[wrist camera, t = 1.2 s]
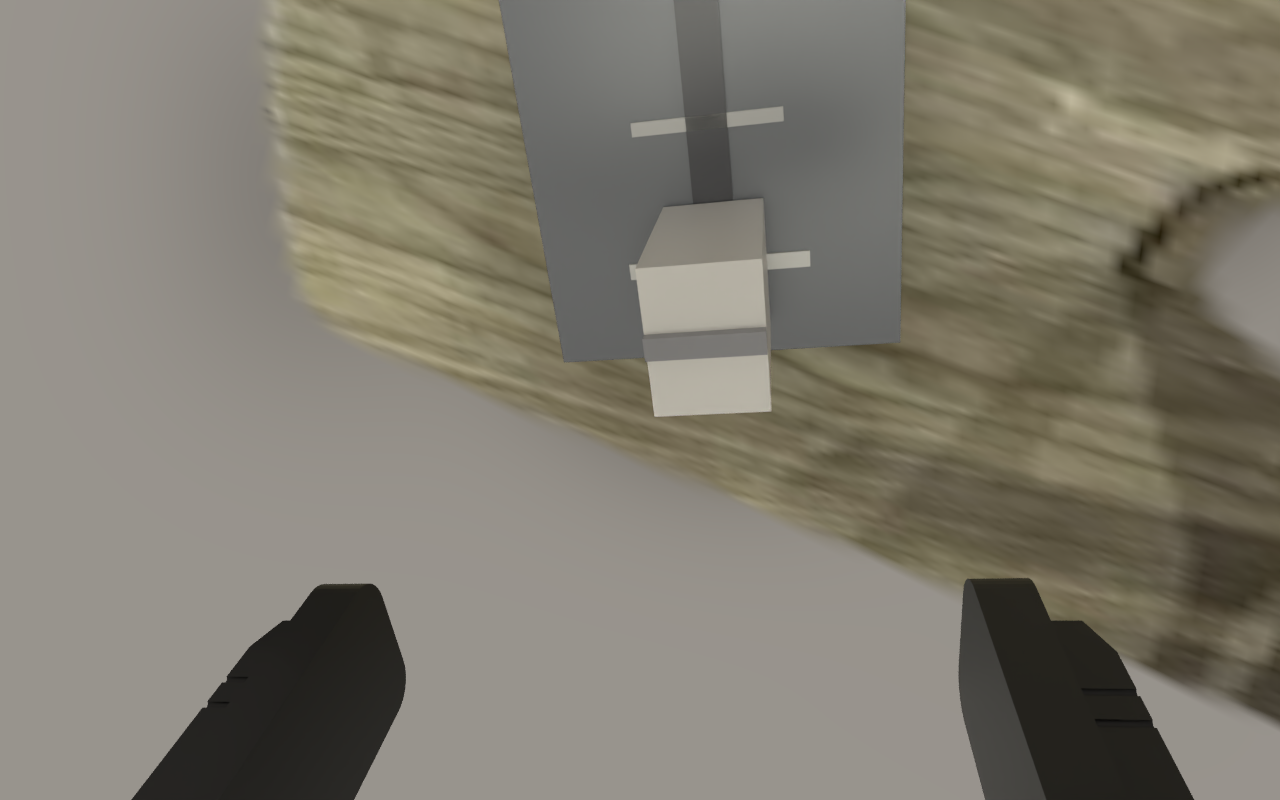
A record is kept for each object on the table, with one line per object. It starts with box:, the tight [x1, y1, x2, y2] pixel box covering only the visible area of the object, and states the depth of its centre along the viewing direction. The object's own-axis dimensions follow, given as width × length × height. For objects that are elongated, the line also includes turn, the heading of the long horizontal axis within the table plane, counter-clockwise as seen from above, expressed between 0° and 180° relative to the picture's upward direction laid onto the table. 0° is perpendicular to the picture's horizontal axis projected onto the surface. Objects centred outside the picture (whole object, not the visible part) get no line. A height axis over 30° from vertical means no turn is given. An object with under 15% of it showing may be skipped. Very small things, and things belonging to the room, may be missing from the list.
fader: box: [635, 198, 771, 417], centre depth 23 cm, size 3×4×6 cm
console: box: [499, 0, 906, 362], centre depth 24 cm, size 11×19×3 cm, turn 7°
